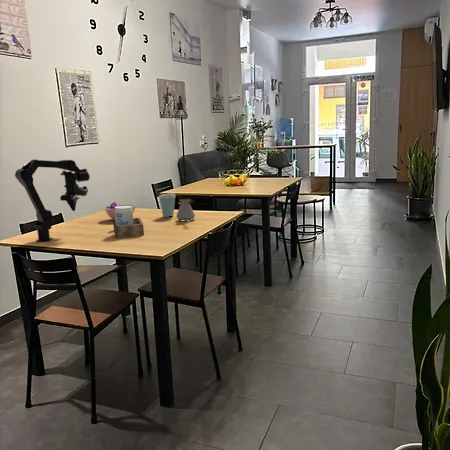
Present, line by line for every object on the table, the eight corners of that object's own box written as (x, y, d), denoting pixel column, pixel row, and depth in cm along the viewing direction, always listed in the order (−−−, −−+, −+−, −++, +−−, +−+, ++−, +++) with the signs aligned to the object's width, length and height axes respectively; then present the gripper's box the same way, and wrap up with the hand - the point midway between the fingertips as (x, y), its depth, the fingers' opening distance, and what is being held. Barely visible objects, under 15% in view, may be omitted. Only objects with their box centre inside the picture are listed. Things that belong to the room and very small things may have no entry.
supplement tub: (116, 235, 244) (114, 208, 241) (116, 231, 253) (114, 206, 250) (134, 234, 246) (132, 207, 243) (134, 230, 255) (132, 204, 252)
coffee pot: (174, 219, 283) (173, 195, 280) (192, 217, 287) (190, 194, 283) (183, 225, 263) (182, 200, 260) (202, 223, 267) (201, 198, 264)
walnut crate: (115, 237, 239) (114, 225, 237) (113, 229, 258) (112, 218, 257) (144, 235, 243) (143, 222, 241) (140, 227, 262) (139, 216, 261)
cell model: (130, 222, 279) (128, 204, 276) (100, 222, 282) (98, 204, 280) (140, 217, 295) (138, 199, 293) (111, 217, 299) (110, 200, 296)
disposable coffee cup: (157, 217, 290) (155, 194, 286) (164, 214, 300) (163, 192, 297) (172, 218, 287) (171, 194, 283) (179, 215, 297) (177, 192, 293)
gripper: (79, 184, 237) (82, 213, 240) (90, 180, 255) (93, 207, 258) (58, 185, 237) (61, 214, 240) (71, 181, 255) (74, 208, 259)
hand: (73, 210), depth 249 cm, fingers closed
